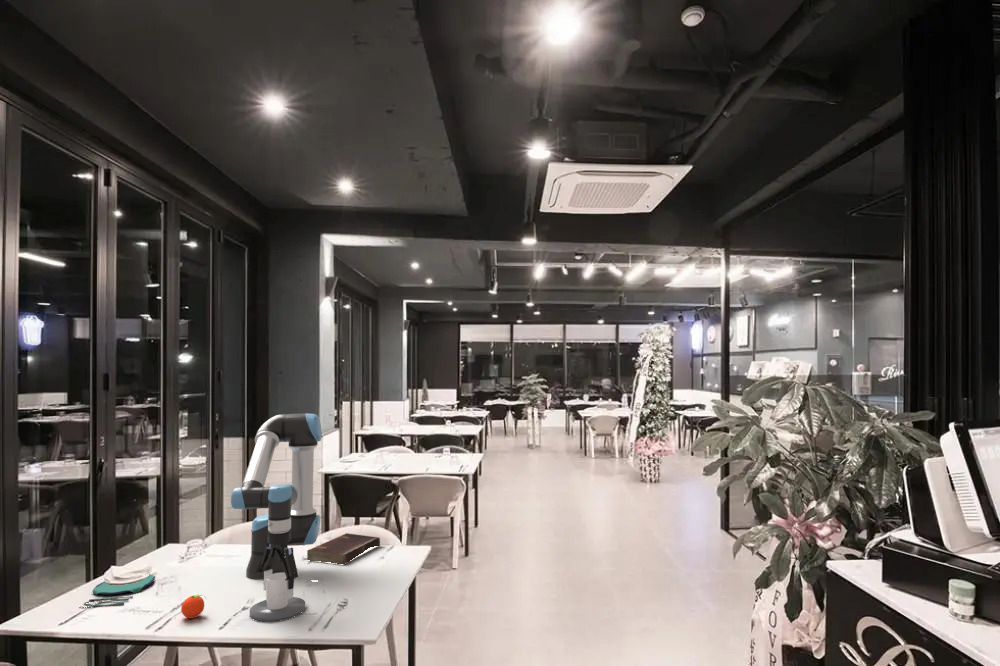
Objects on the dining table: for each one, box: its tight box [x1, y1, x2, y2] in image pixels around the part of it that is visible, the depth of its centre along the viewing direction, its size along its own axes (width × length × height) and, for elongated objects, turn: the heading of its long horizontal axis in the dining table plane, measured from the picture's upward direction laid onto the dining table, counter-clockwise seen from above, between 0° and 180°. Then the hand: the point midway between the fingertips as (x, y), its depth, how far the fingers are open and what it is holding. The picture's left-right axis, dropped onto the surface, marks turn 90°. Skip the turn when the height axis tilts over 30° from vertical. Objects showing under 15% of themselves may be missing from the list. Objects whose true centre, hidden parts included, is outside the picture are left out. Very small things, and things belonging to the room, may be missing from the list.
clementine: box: [180, 594, 207, 619], centre depth 196 cm, size 8×7×7 cm
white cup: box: [265, 572, 288, 610], centre depth 200 cm, size 8×8×10 cm
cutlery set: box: [78, 573, 156, 609], centre depth 219 cm, size 20×30×2 cm, turn 9°
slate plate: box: [249, 596, 307, 623], centre depth 200 cm, size 18×18×2 cm
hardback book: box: [306, 532, 381, 565], centre depth 264 cm, size 29×19×5 cm, turn 160°
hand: (278, 593), depth 200 cm, fingers open, 13 cm apart
